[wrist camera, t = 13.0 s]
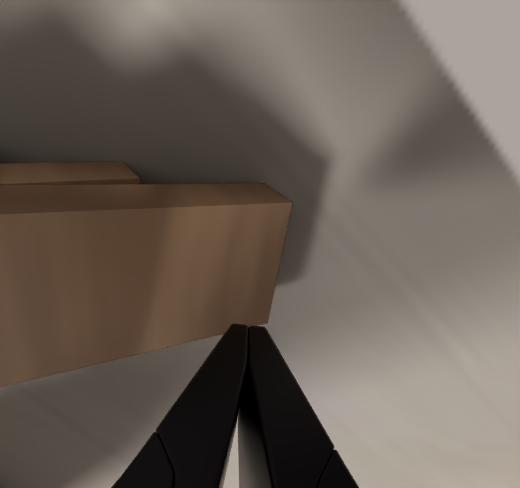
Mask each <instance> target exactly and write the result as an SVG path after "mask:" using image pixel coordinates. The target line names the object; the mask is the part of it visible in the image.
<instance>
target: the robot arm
mask: <svg viewBox="0 0 520 488" xmlns="http://www.w3.org/2000/svg"><path fill="white" fill-rule="evenodd" d="M237 417H238V453H239V488H359V487H358V485H357V483H356V482H355V480H354V479H353V477H352V475H351V474H350V472H349V470H348V469H347V467H346V465H345V464H344V462H343V460H342V458H341V457H340V455H339V453H338V451H337V450H334V445H333V443H332V441H331V440H330V438H329V436H328V434H327V433H326V431H325V429H324V428H323V426H322V424H321V422H320V421H319V419H318V417H317V415H316V414H315V412H314V410H313V409H312V407H311V405H310V403H309V402H308V400H307V398H306V396H305V395H304V393H303V391H302V390H301V388H300V386H299V384H298V383H297V381H296V379H295V377H294V376H293V374H292V372H291V371H290V369H289V367H288V365H287V364H286V362H285V360H284V359H283V357H282V355H281V353H280V352H279V350H278V348H277V346H276V345H275V343H274V341H273V340H272V338H271V336H270V334H269V333H268V331H267V329H266V328H265V327H261V326H252V325H251V326H249V328H248V326H247V325H244V324H236V323H233V324H231V325H230V327H229V328H228V329H227V331H226V332H225V334H224V335H223V336H222V338H221V339H220V341H219V342H218V343H217V345H216V346H215V348H214V349H213V350H212V352H211V353H210V355H209V356H208V357H207V359H206V360H205V362H204V363H203V364H202V366H201V367H200V369H199V370H198V371H197V373H196V374H195V376H194V377H193V378H192V380H191V381H190V383H189V384H188V385H187V387H186V388H185V390H184V391H183V392H182V394H181V395H180V396H179V398H178V399H177V401H176V402H175V403H174V405H173V406H172V408H171V409H170V410H169V412H168V413H167V415H166V416H165V417H164V419H163V420H162V422H161V423H160V424H159V426H158V427H157V429H156V432H154V433H153V434H152V435H151V437H150V438H149V439H148V441H147V442H146V444H145V445H144V446H143V448H142V449H141V451H140V452H139V453H138V454H137V456H136V457H135V458H134V460H133V461H132V462H131V464H130V465H129V466H128V468H127V469H126V470H125V472H124V473H123V474H122V475H121V477H120V478H119V479H118V480H117V481H116V483H115V484H114V485H113V486H112V487H111V488H223V484H224V480H225V475H226V470H227V466H228V461H229V456H230V452H231V447H232V442H233V437H234V433H235V428H236V422H237Z"/></svg>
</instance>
